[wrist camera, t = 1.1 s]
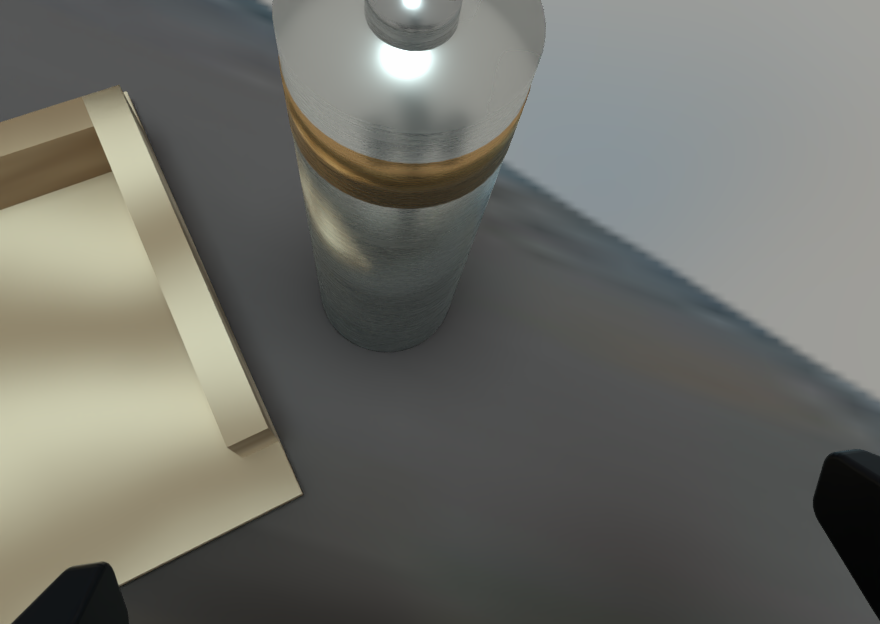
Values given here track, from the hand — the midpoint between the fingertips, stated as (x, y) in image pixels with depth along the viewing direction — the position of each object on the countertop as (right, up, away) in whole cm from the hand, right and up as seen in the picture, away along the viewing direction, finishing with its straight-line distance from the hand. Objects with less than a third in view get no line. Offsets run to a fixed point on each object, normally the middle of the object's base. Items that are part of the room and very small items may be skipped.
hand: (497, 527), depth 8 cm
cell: (-3, +3, +15) cm, 16 cm away
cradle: (-14, +1, +13) cm, 19 cm away
